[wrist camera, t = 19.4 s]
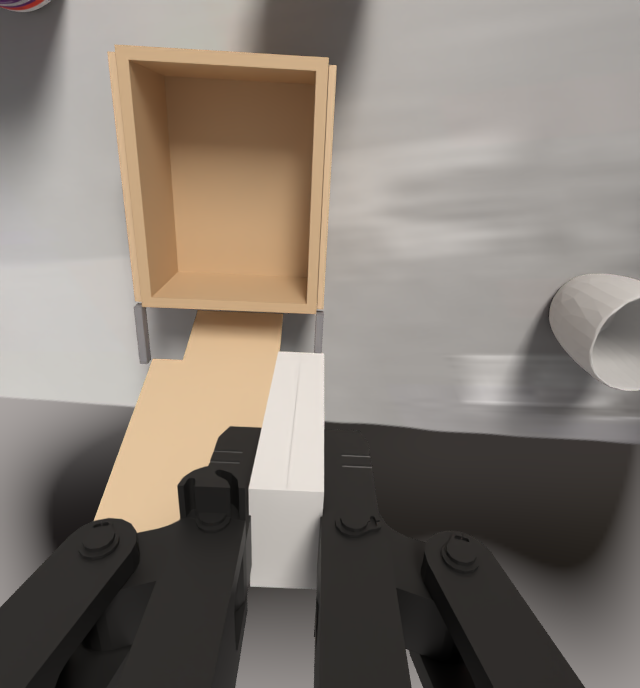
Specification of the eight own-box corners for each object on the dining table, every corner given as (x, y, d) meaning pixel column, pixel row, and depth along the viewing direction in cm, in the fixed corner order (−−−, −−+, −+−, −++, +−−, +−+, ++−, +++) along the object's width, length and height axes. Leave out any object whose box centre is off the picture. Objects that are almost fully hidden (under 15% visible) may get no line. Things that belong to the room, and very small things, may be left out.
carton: (149, 65, 39) (103, 43, 30) (332, 76, 39) (338, 57, 31) (170, 324, 48) (140, 363, 39) (319, 330, 48) (320, 370, 40)
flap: (88, 536, 28) (91, 541, 29) (302, 541, 29) (302, 546, 29) (170, 309, 44) (172, 314, 44) (309, 314, 44) (309, 320, 45)
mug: (530, 347, 49) (579, 393, 40) (544, 263, 46) (602, 294, 37) (649, 343, 50) (726, 389, 40) (672, 260, 46) (763, 289, 37)
